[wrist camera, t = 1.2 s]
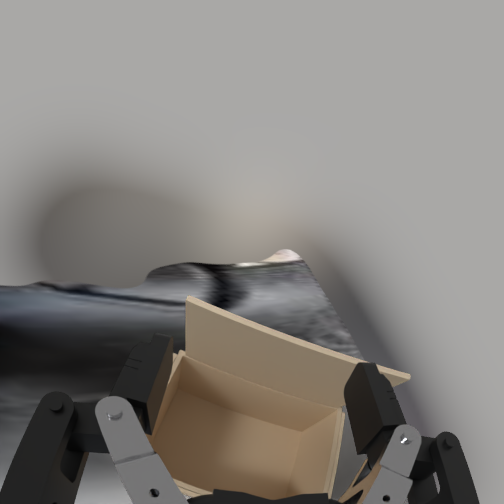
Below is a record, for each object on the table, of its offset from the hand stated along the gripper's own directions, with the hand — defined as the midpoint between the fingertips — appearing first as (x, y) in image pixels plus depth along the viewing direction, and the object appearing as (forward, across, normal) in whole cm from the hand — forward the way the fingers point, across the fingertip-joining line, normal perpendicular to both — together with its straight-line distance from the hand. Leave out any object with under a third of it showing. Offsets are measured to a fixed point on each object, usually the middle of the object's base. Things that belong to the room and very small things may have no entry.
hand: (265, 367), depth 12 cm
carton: (+8, 0, +25) cm, 26 cm away
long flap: (+11, -3, +14) cm, 17 cm away
